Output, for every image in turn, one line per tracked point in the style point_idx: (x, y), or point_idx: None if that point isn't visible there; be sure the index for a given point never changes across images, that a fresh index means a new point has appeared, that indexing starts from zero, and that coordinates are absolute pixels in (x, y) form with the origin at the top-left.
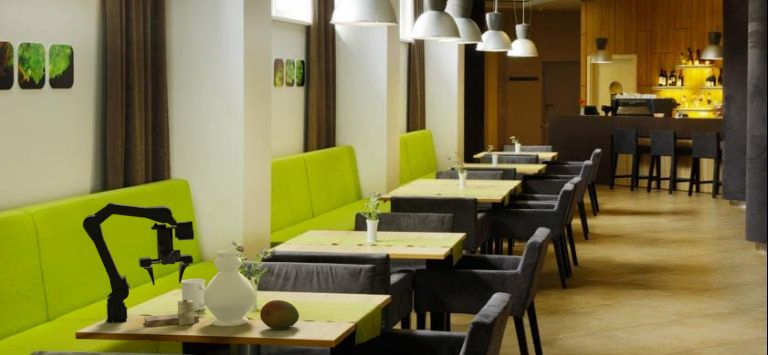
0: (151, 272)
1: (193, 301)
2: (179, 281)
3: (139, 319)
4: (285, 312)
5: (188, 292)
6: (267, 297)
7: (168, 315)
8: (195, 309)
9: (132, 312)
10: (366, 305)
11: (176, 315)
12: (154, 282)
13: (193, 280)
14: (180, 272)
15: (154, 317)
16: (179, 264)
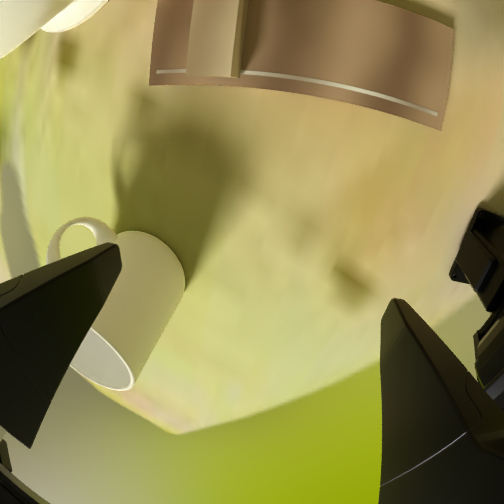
0: (484, 426)
1: (127, 253)
2: (104, 250)
3: (418, 215)
4: None
5: (123, 293)
6: (6, 277)
7: (310, 76)
8: (139, 232)
9: (371, 344)
10: None
11: (264, 51)
12: (403, 316)
13: (93, 373)
14: (18, 295)
15: (400, 78)
16: (21, 428)
